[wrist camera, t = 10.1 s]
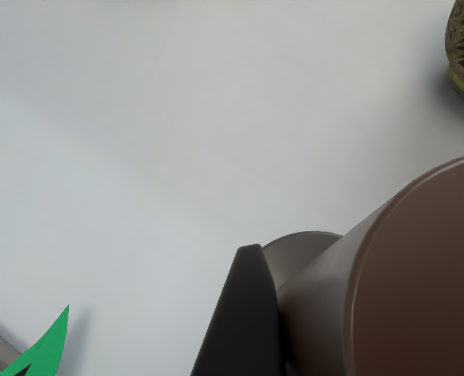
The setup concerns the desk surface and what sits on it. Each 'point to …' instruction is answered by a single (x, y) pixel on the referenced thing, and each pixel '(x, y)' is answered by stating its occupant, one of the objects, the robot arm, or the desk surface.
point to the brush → (379, 287)
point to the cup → (456, 46)
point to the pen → (7, 354)
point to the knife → (42, 352)
